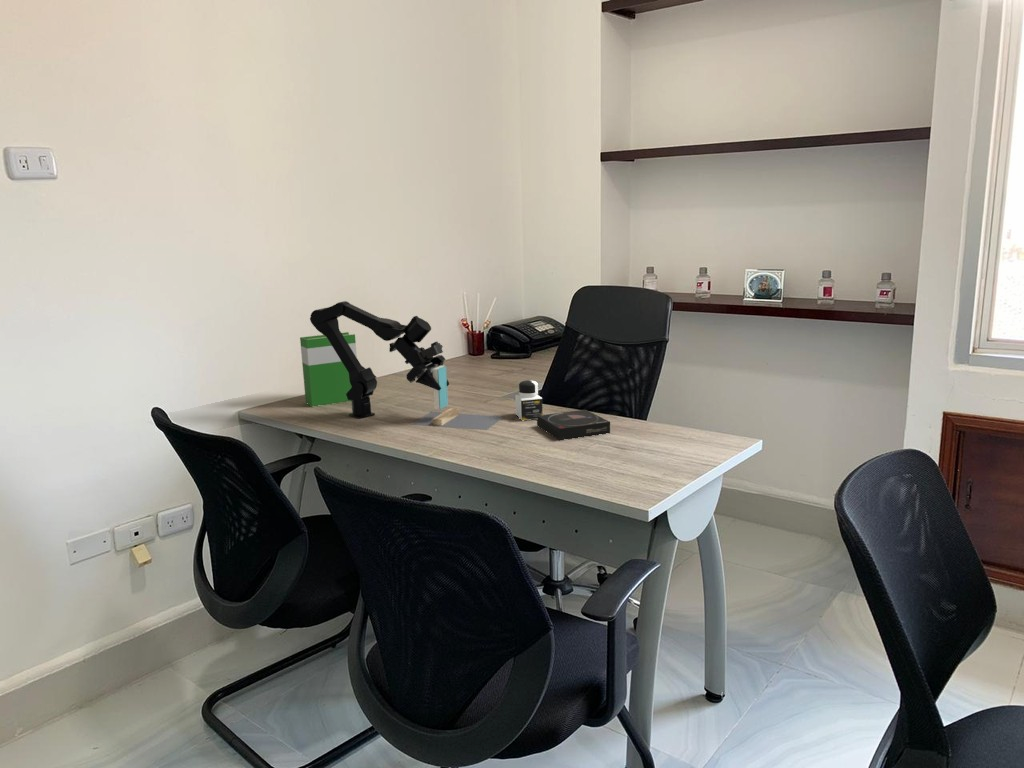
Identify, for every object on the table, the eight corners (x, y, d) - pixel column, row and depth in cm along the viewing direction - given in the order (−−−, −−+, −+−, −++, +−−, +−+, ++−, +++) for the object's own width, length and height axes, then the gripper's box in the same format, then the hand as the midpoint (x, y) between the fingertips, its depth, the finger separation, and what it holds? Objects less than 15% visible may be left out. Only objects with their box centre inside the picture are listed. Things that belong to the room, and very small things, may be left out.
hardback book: (352, 396, 286) (347, 332, 280) (359, 399, 279) (355, 334, 274) (305, 403, 277) (300, 337, 271) (312, 407, 270) (306, 340, 265)
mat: (410, 425, 243) (410, 424, 243) (431, 413, 258) (431, 411, 258) (486, 431, 234) (486, 429, 234) (504, 417, 249) (504, 416, 249)
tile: (434, 409, 244) (432, 369, 242) (442, 404, 250) (440, 365, 247) (440, 409, 244) (438, 369, 241) (448, 404, 249) (446, 365, 246)
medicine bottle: (521, 421, 245) (520, 384, 242) (515, 415, 251) (514, 380, 249) (543, 419, 247) (542, 382, 244) (536, 413, 253) (535, 378, 251)
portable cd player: (584, 421, 245) (584, 409, 244) (610, 434, 229) (610, 421, 228) (537, 427, 239) (536, 415, 238) (560, 442, 223) (559, 428, 223)
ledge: (433, 425, 241) (432, 419, 241) (450, 413, 254) (450, 408, 254) (441, 425, 240) (441, 419, 240) (459, 414, 253) (458, 408, 253)
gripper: (413, 339, 234) (448, 376, 233) (438, 330, 252) (471, 364, 250) (391, 364, 239) (426, 400, 238) (418, 353, 256) (450, 387, 255)
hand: (444, 387), depth 245 cm, fingers closed on tile, 6 cm apart
